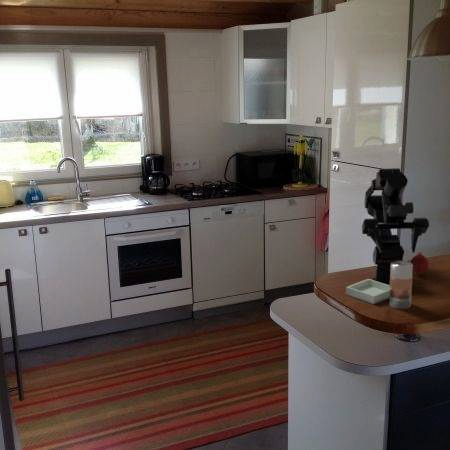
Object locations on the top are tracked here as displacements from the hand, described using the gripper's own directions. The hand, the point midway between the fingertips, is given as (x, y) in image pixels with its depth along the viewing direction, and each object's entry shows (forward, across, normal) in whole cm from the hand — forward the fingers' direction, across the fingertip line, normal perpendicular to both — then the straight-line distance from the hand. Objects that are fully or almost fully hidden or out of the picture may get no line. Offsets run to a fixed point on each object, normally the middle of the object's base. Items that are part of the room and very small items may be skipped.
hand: (397, 252), depth 159 cm
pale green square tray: (+9, -7, +12) cm, 16 cm away
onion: (-2, +12, +26) cm, 28 cm away
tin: (+14, 0, +6) cm, 15 cm away
